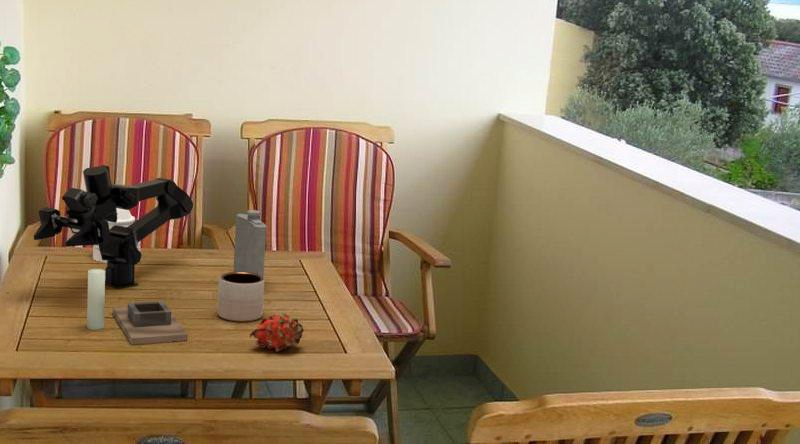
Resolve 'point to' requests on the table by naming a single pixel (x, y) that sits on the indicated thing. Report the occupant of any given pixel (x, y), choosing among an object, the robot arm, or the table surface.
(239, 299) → the planter
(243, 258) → the hip flask
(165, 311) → the keeper
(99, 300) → the pale green peg
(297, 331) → the dragon fruit
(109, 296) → the table surface
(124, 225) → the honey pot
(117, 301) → the table surface
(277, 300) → the table surface
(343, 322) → the table surface
